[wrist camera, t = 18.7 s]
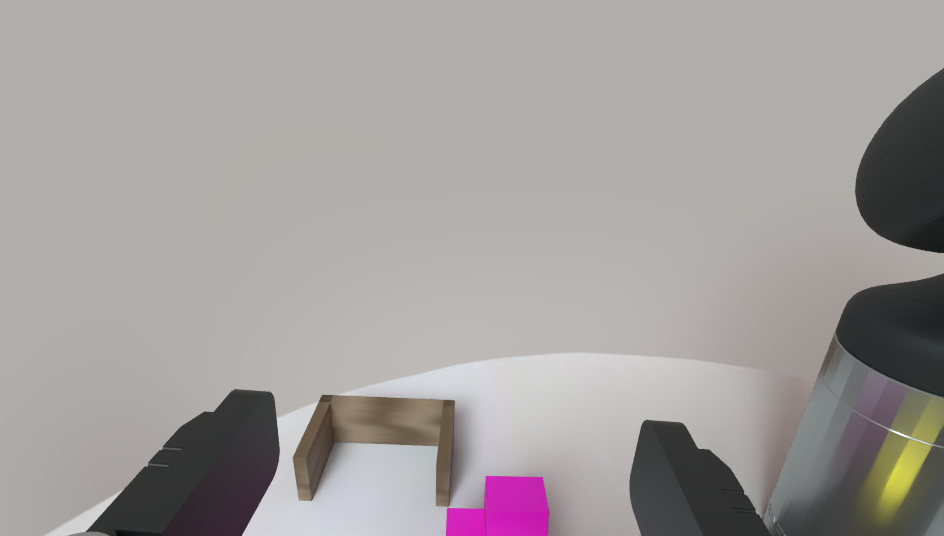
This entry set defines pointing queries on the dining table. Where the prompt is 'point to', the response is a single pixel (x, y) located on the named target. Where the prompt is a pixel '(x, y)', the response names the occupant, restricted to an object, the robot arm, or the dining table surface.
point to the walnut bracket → (375, 434)
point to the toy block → (504, 510)
